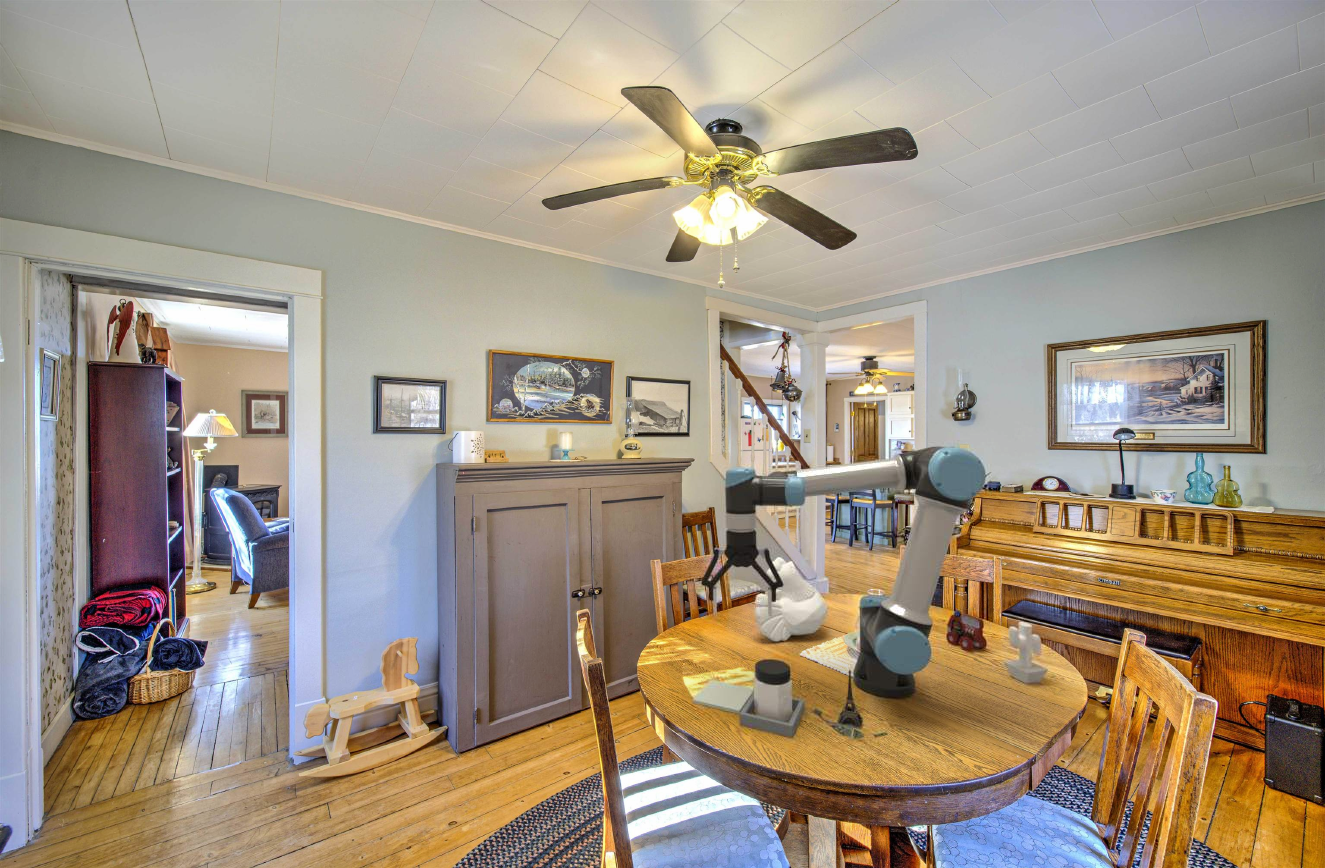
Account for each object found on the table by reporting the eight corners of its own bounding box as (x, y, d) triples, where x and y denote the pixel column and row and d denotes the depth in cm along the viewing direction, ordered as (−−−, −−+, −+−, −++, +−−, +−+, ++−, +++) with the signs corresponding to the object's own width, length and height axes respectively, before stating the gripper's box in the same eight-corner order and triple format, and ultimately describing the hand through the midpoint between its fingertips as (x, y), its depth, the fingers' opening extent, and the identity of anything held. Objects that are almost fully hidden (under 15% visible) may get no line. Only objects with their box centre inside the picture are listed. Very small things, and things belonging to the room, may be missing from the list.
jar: (771, 731, 118) (771, 677, 118) (746, 715, 125) (746, 664, 125) (799, 719, 123) (799, 667, 123) (774, 704, 130) (773, 655, 130)
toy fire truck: (958, 637, 172) (957, 605, 172) (991, 652, 161) (991, 618, 161) (940, 640, 170) (940, 607, 170) (973, 655, 159) (973, 620, 159)
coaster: (754, 692, 136) (754, 689, 136) (739, 714, 126) (739, 710, 126) (710, 682, 142) (710, 679, 142) (692, 702, 131) (692, 699, 131)
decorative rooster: (817, 603, 187) (772, 549, 187) (843, 608, 172) (794, 549, 172) (770, 655, 179) (723, 599, 179) (793, 665, 164) (742, 604, 164)
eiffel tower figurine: (809, 712, 127) (809, 656, 127) (844, 704, 131) (843, 650, 131) (852, 746, 113) (851, 683, 113) (889, 736, 117) (889, 675, 117)
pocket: (804, 710, 127) (804, 699, 127) (792, 737, 115) (792, 726, 115) (756, 699, 132) (755, 689, 132) (739, 724, 121) (739, 713, 121)
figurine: (1052, 682, 140) (1051, 626, 141) (1024, 687, 138) (1024, 629, 138) (1026, 671, 147) (1025, 617, 148) (1000, 675, 145) (999, 620, 145)
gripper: (790, 527, 135) (791, 610, 135) (692, 526, 138) (693, 607, 138) (793, 532, 128) (795, 620, 128) (690, 531, 131) (691, 617, 131)
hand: (742, 614), depth 133 cm, fingers open, 13 cm apart
